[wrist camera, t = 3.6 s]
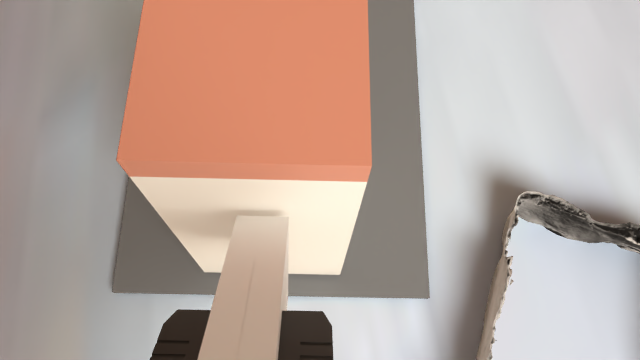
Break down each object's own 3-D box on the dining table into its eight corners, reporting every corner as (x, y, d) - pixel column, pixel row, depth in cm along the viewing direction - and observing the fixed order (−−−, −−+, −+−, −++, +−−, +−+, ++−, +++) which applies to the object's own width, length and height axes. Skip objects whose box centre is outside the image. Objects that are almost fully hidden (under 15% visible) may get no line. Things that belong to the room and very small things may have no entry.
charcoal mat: (114, 292, 24) (111, 291, 24) (165, -69, 31) (164, -74, 30) (428, 298, 24) (429, 297, 24) (409, -62, 31) (410, -66, 31)
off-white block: (204, 272, 24) (116, 159, 13) (216, 149, 26) (150, -38, 15) (340, 274, 24) (371, 166, 13) (339, 152, 26) (366, -31, 15)
